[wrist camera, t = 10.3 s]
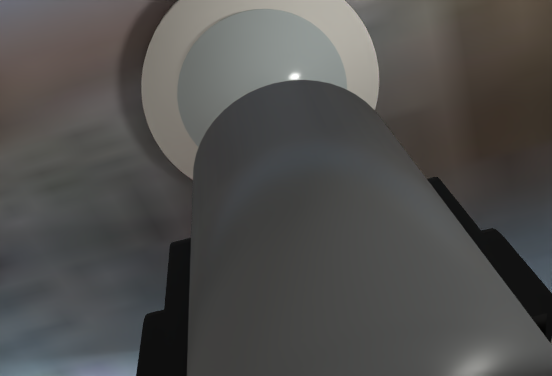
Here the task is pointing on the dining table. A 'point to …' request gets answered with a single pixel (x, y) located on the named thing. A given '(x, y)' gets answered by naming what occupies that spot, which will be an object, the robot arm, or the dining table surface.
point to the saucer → (245, 61)
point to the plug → (337, 253)
